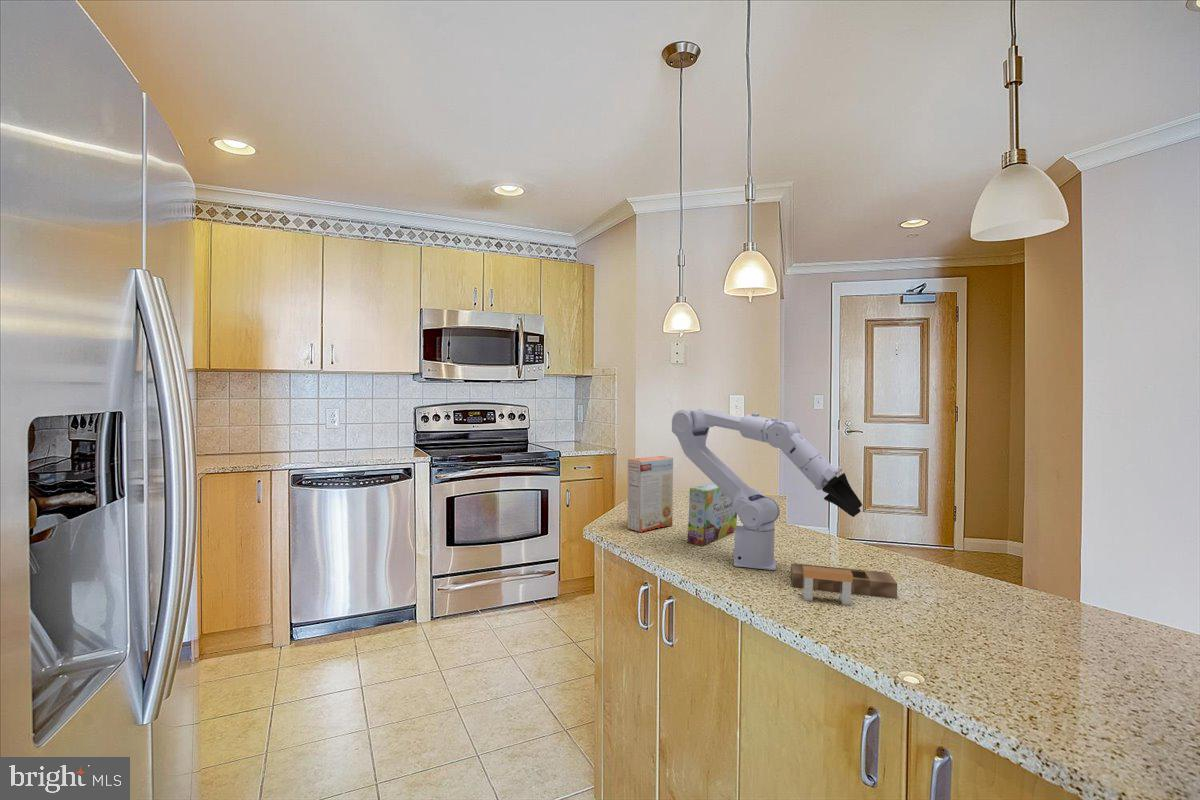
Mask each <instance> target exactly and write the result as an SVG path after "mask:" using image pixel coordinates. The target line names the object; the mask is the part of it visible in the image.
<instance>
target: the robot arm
mask: <svg viewBox="0 0 1200 800" xmlns="http://www.w3.org/2000/svg"><path fill="white" fill-rule="evenodd" d="M778 419H779V418H777V417H771V418H769V417H763V416H760V413H757V412H752V413H749V414H746V415H745V416H743V417H739V416H736V415H732V414H728V413H724V412H719V411H716V410H710V409H693V410H691V409H690V410H689V409H688V410H685V409H679V410H677V411H675V412H674V414H673V415H672V418H671V432H672V433H673V434H674V435H675V436H676V437H677V439H678V442H679V444H680V447H681V449H682V451H683V453H684V455H685V457H687V458H688V459H689V460H690V462H692V463H693V464H694V465H695V466H696V467H697V468H698V469H699V470H700V471H701V472H702V473H703V474H704V475H705V476H706V477H707V478H708V479H709V480H710V482H711V483H712V482H713V483H714V484H715V485H716V486H718V487H719V488H720V489H721V490H722V491H723V492H724V493H725V494H726V495H727V496H728V497H729V498H730V499H731V500H732V501H733V510H734V511H735V512H736V513H737V517H738V518H739V521H740V522H741V524H742V525H737V526H735V532H734V546H733V547H734V548H733V549H732V557H733V566H734V567H740V568H748V569H759V570H767V571H777V564H776V563H777V562H776V559H775V539H776V538H775V536H776V535H775V531H776V529H775V528H776V527H775V526H776V525H775V522H776V521H777V520H778V519H779V518H780V513H781V509H780V506H779V503H778V501H776V499H774V498H773V497H770V496H767V495H765V494H764V493H762V492H761V491H760V490H757V489H755V488H752V487H751V486H749V485H748V484H747V483H746V482H744V481H743V479H742V478H740V476H738V475H737V474H736V473H735V472H734V471H733V470H732V469H731V468H730V467H729V466H728V465H727V464H725V463H724V462H723V461H722V460H721V459H720V458H719V457H718V456H717V455H716V454H715V453H714V452H713V451H711V450H710V449H709V448H708V446H707V445H706V443H707V439H708V435H709V431H710V428H714V427H718V428H724V429H728V430H734V431H738V432H739V433H740V435H741V437H743V438H745V439H750V440H754V441H758V442H763V443H767V444H768V445H769V446H771V447H773V448H775V449H780V451H781V452H782V453H783V454H784V455H785V456H786V457H787V458H788V459H789V460H790V462H792V464H793V465H794V466H796V468H797V469H798V470H799V471H800V472H801V473H802V474H803V475H804V476H805V477H806V478H807V480H808V481H810V482H811V484H813V485H814V488H815V489H816V490H817V491H821V490H822V492H823V493H826V494H827V495H825V496H824V497H823V500H824V501H826V502H829V503H831V504H833V505H835V506H837V507H838V508H840V509H841V510H843V512H845V514H848V515H849V516H850V517H853V518H854V517H856V516H857V515H858V514H859V513H861V512H862V511H861V509H860V508H861V507H862V506H863V504H862V501H861V500H860V499H859V497H858V496H857V493H855V491H854V490H853V489H852V486H851V485H850V483H849V481H848V479H847V475H846V473H845V472H843V473H841V472H842V471H843V467H842V466H840V465H839V466H838V467H836V468H835V467H834V466H833V465H832V464H831V463H830V462H829V461H828V460H827V459H826V458H825V457H824V456H823V455H822V454H821V453H820V452H819V451H818V449H816V448H815V447H814V445H812V444H811V442H809V440H807V439H806V438H805V437H804V436H803V435H802V434H801V431H800V428H799V426H798V425H797V424H796V423H794V422H791V421H790V420H782V421H778ZM840 473H841V474H840ZM838 475H839V476H838Z"/></svg>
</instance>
